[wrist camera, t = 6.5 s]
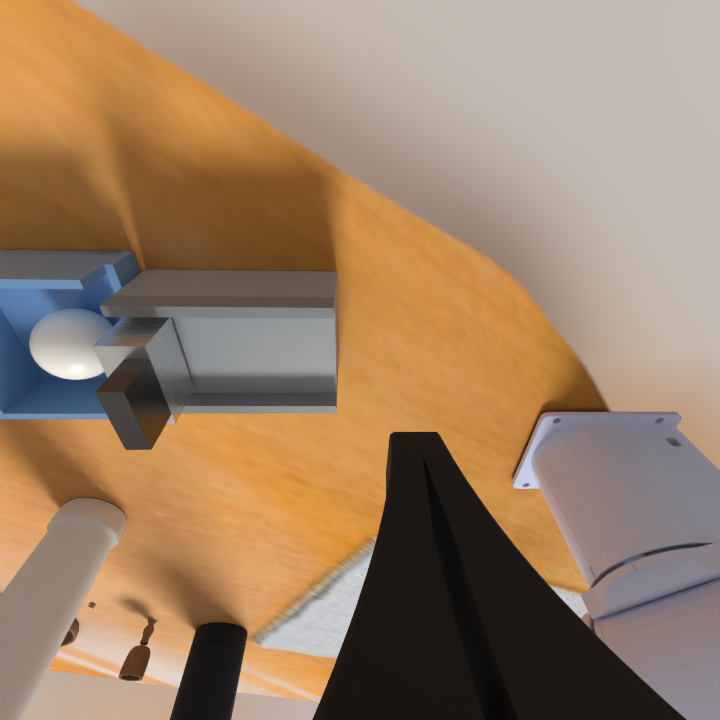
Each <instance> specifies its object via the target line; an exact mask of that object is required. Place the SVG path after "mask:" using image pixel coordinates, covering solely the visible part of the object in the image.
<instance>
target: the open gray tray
mask: <svg viewBox="0 0 720 720" xmlns="http://www.w3.org/2000/svg"><path fill="white" fill-rule="evenodd" d="M99 307H100V309H101V311H102V313H103V316H104V317H122V318H123V317H171V320H172V323H173V326H174V329H175V332H176V335H177V338H178V341H179V344H180V347H181V350H182V353H183V357H184V360H185V363H186V366H187V369H188V372H189V375H190V378H191V381H192V384H193V387H194V391H193V393H192V395H191V396H190V398H189V400H188V402H187V404H186V405H185V407H184V409H183V411H182V413H336V408H337V386H338V317H337V271H260V270H173V269H145V270H144V271H142V272H141V273H140V274H139V275H137V276H136V277H135V278H134V279H132V280H131V281H130V282H129V283H127V284H126V285H125V286H124V287H122V288H121V289H120V290H119V291H117V292H116V293H115V294H114V295H112V296H111V297H110V298H109V299H107V300H106V301H105V302H104V303H102V304H101V305H100V306H99Z"/></svg>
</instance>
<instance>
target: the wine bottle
mask: <svg viewBox="0 0 720 720" xmlns="http://www.w3.org/2000/svg"><path fill="white" fill-rule="evenodd" d="M246 640H247V631H246V630H245V629H243V628H241V627H239V626H236V625H233V624H226V623H211V624H206V625H202V626H200V627H198V628H197V630H196V632H195V636H194V639H193V642H192V646H191V649H190V653H189V656H188V659H187V663H186V666H185V670H184V673H183V676H182V680H181V683H180V687H179V690H178V694H177V697H176V700H175V704H174V707H173V710H172V714H171V718H170V720H231V717H232V712H233V707H234V701H235V696H236V691H237V686H238V681H239V676H240V671H241V665H242V660H243V655H244V650H245V645H246Z"/></svg>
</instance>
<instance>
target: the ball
mask: <svg viewBox="0 0 720 720" xmlns="http://www.w3.org/2000/svg"><path fill="white" fill-rule="evenodd" d="M112 327H113V325H112V324H111V323H110V322H109V321H108V320H107V319H106V318H104V317H103V316H101V315H100V314H97V313H95V312H93V311H89V310H85V309H79V308H69V309H62V310H58V311H55V312H52V313H50V314H48V315H46V316H45V317H43V318H42V319H41V320H40V321H39V322H38V323H37V324H36V325H35V326H34V328H33V330H32V332H31V335H30V339H29V347H30V351H31V354H32V356H33V358H34V360H35V361H36V363H37V364H38V365H39V366H40V367H41V368H42V369H44V370H45V371H47V372H48V373H50V374H52V375H55V376H57V377H60V378H64V379H71V380H81V379H88V378H92V377H95V376H98V375H100V374H102V373H103V372H105V371H104V369H103V367H102V365H101V363H100V361H99V359H98V357H97V355H96V353H95V351H94V349H93V347H92V346H93V345H94V344H95V343H96V342H97V341H98V340H99V339H100V338H101V337H103V336H104V335H105V334H106V333H107V332H108V331H109V330H110V329H111V328H112Z"/></svg>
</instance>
